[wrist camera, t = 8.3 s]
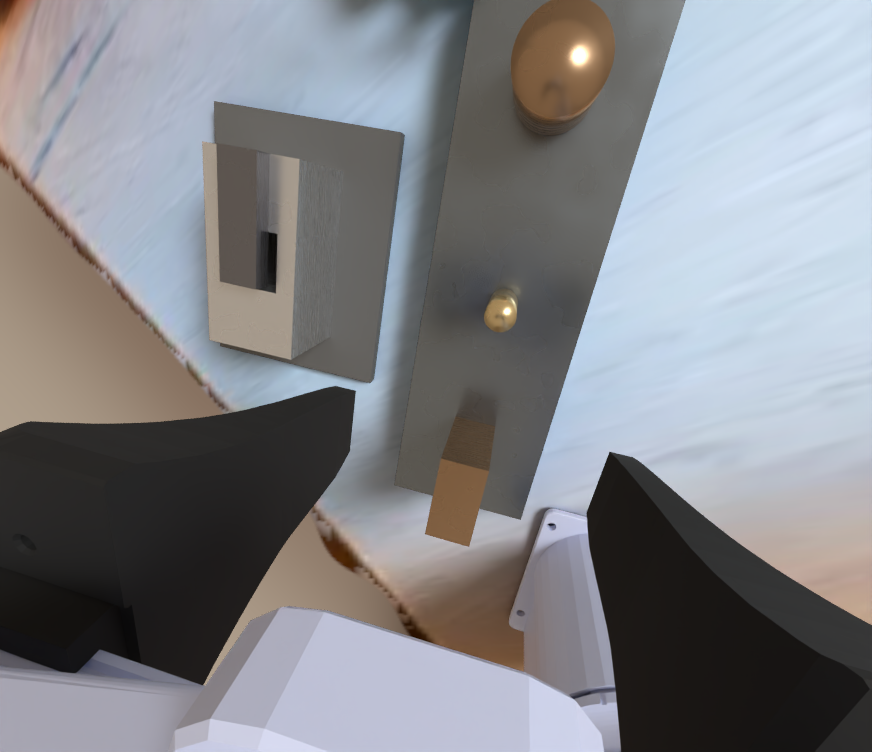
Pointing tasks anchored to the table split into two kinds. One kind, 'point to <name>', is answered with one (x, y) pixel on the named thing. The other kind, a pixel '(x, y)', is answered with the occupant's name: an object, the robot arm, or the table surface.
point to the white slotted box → (269, 249)
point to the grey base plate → (522, 238)
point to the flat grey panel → (358, 224)
